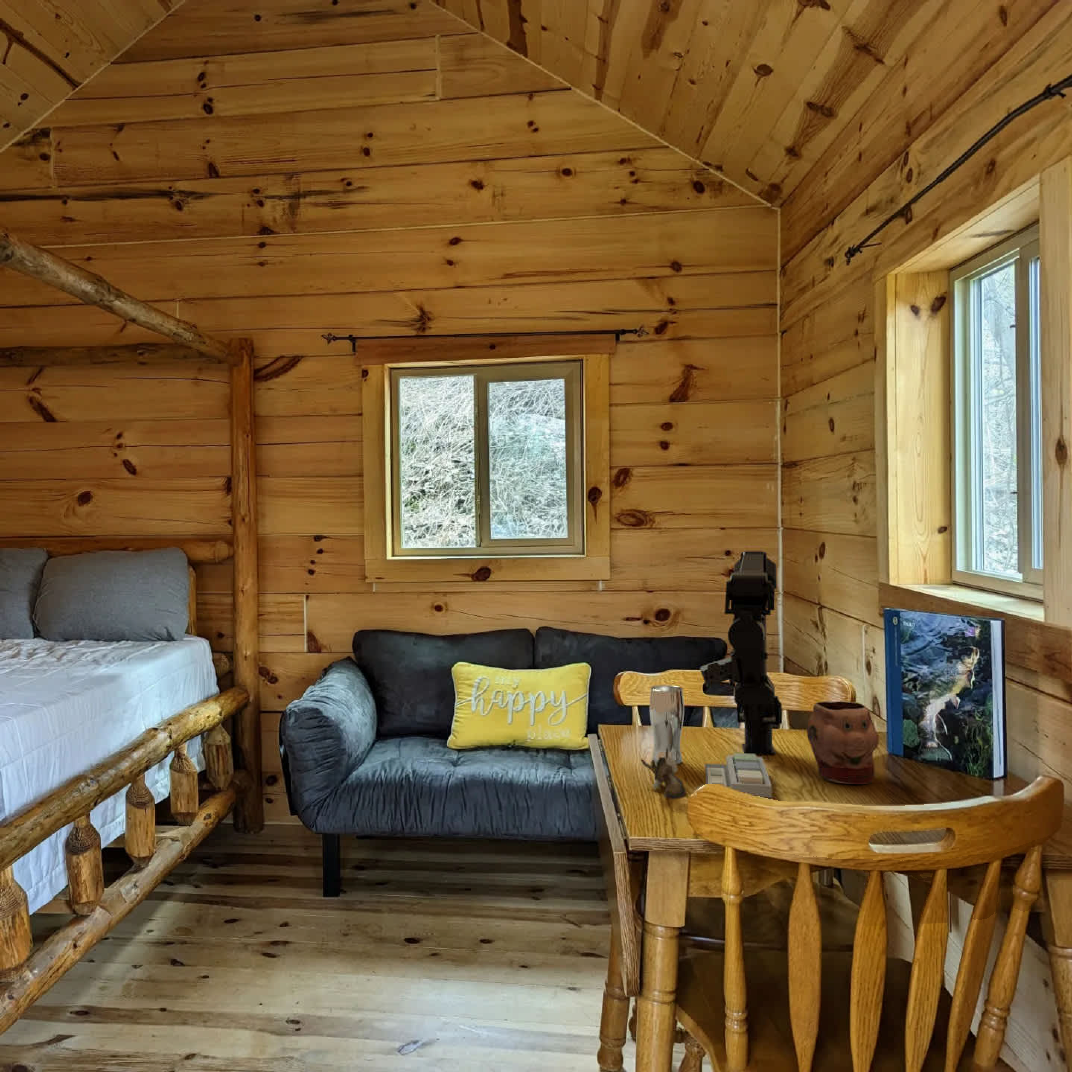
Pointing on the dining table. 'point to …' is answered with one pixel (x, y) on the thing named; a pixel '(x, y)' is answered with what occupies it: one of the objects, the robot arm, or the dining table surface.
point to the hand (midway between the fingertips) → (750, 733)
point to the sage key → (744, 757)
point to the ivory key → (750, 776)
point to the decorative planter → (843, 741)
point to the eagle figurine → (666, 777)
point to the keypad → (730, 778)
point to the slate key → (747, 766)
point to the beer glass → (667, 721)
